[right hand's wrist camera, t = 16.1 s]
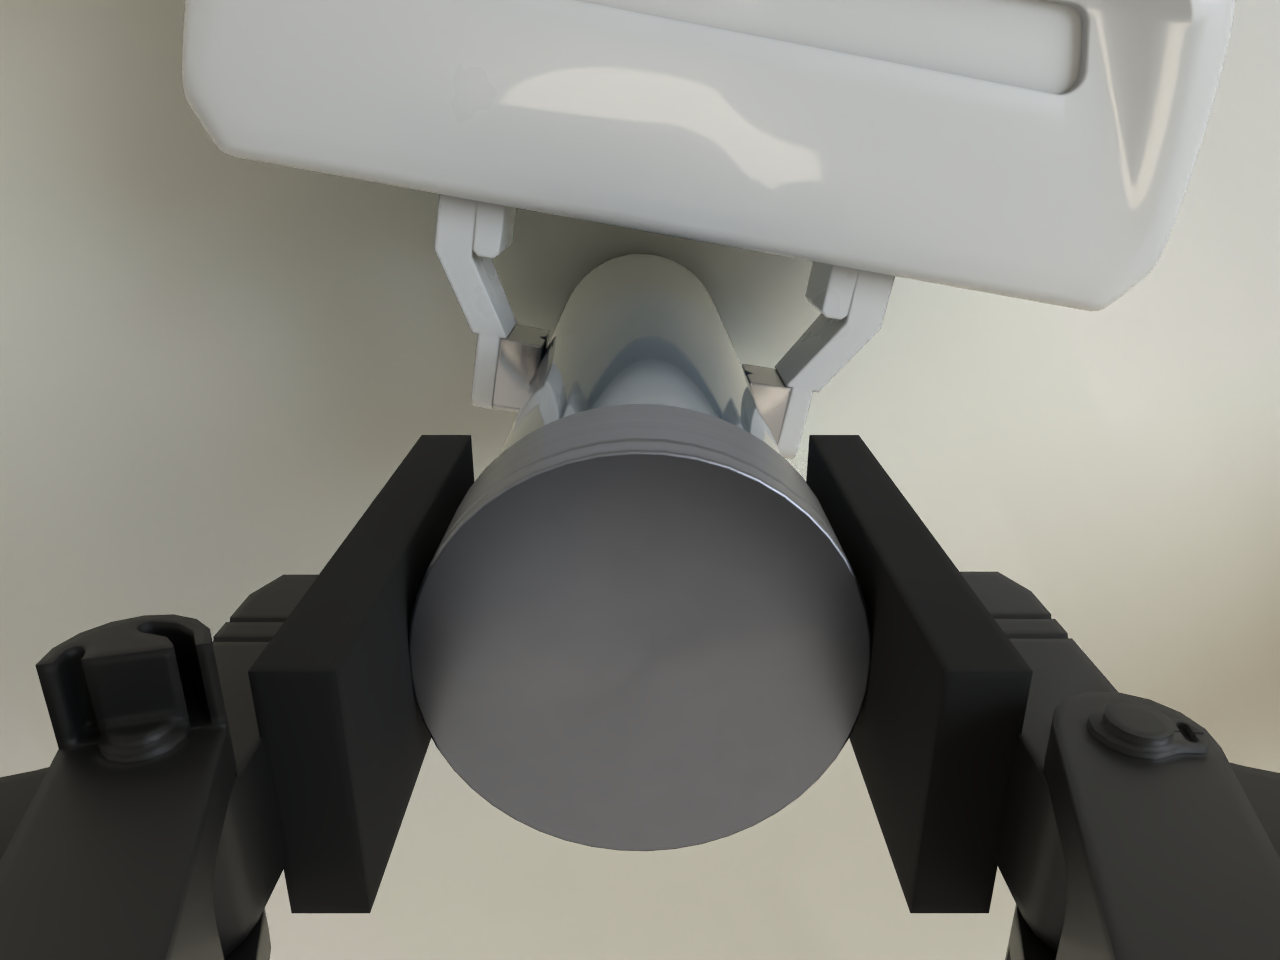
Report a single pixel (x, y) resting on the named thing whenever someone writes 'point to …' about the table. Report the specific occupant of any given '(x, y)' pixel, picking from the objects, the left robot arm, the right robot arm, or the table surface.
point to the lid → (640, 631)
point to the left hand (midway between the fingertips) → (635, 427)
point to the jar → (640, 350)
